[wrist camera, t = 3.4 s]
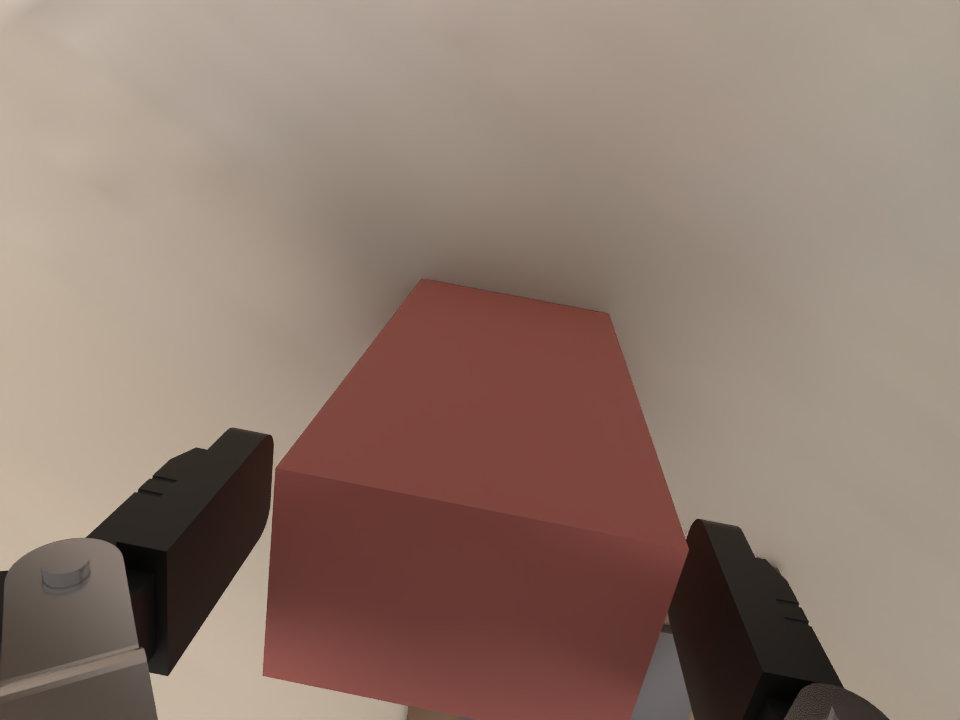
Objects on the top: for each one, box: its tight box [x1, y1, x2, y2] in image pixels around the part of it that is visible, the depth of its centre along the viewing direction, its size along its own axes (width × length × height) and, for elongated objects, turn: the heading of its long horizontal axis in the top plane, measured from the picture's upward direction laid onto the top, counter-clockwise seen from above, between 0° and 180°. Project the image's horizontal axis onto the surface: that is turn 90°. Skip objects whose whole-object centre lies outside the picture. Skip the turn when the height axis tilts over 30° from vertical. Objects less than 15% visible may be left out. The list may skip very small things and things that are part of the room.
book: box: [263, 279, 689, 720], centre depth 16 cm, size 6×4×12 cm, turn 81°
